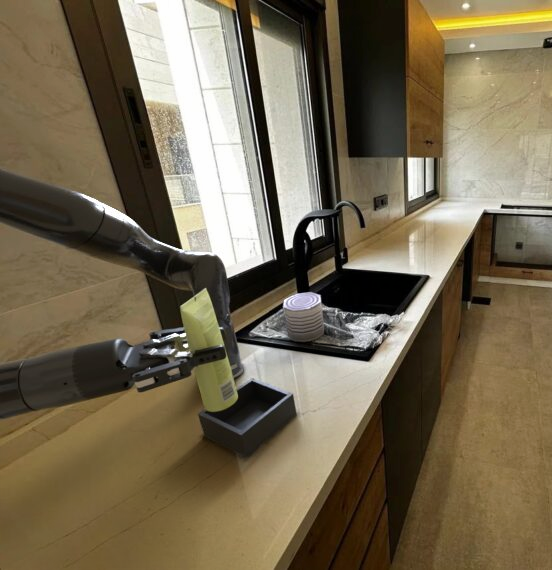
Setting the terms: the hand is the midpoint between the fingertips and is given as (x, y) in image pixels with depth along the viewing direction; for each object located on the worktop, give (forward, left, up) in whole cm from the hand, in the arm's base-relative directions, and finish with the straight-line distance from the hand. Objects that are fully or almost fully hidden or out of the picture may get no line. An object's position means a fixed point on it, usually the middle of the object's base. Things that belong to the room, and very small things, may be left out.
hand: (224, 341), depth 53 cm
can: (-26, +41, -26) cm, 55 cm away
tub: (-8, +6, -26) cm, 27 cm away
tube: (-1, -2, -11) cm, 11 cm away
